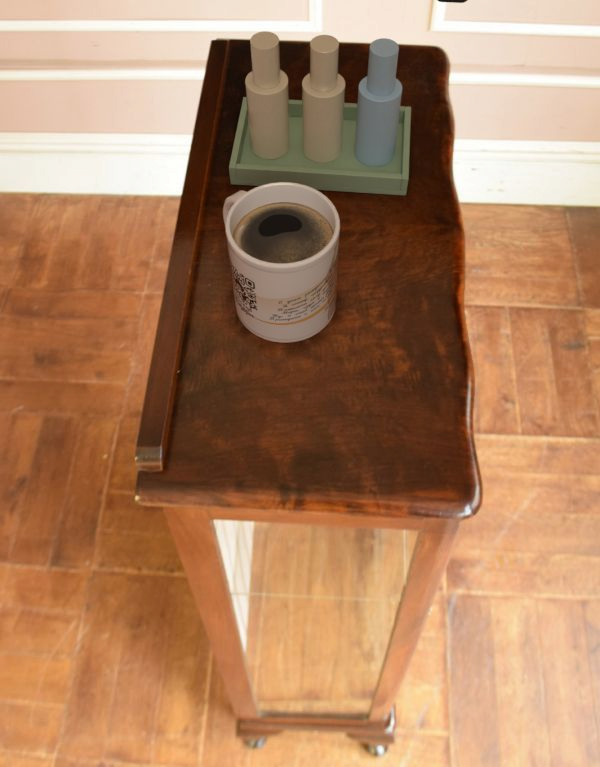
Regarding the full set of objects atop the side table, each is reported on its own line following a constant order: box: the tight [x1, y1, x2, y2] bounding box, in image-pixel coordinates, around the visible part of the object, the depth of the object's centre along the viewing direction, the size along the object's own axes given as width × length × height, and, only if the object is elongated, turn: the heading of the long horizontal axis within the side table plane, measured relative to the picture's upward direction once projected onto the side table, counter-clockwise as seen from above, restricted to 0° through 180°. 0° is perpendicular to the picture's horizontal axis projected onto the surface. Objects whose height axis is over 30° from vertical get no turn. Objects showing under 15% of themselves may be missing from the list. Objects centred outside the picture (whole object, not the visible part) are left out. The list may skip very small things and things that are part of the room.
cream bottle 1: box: [244, 31, 290, 159], centre depth 80 cm, size 4×4×13 cm
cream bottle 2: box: [301, 34, 346, 163], centre depth 80 cm, size 4×4×13 cm
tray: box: [228, 96, 412, 196], centre depth 85 cm, size 19×11×2 cm, turn 84°
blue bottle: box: [354, 37, 403, 167], centre depth 80 cm, size 4×4×13 cm
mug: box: [222, 182, 341, 344], centre depth 71 cm, size 10×12×11 cm
